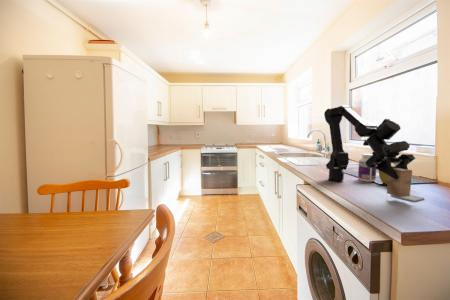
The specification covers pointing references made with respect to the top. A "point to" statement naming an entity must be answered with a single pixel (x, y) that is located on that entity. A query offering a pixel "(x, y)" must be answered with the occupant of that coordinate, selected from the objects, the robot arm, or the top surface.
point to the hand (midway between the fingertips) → (403, 178)
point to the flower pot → (384, 176)
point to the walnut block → (400, 183)
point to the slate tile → (410, 198)
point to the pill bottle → (366, 169)
